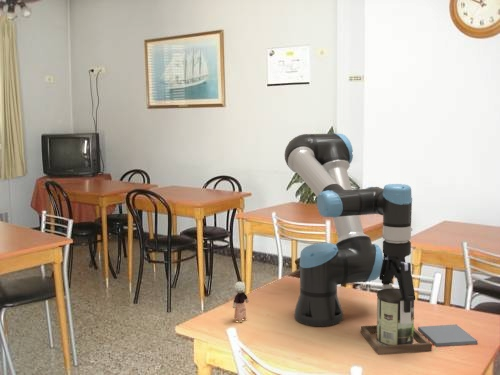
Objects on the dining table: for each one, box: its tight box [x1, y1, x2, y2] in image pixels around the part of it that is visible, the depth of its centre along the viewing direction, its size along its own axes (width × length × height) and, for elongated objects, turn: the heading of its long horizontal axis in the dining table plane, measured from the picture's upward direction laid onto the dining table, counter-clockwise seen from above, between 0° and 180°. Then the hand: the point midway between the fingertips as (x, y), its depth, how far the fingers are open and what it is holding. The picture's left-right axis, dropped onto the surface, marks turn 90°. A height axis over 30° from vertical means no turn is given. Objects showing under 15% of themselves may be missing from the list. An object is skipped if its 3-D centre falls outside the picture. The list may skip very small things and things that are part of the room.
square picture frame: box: [360, 324, 433, 355], centre depth 153 cm, size 15×15×2 cm
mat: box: [417, 324, 478, 348], centre depth 156 cm, size 12×12×1 cm
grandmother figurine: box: [232, 281, 249, 323], centre depth 170 cm, size 8×4×13 cm, turn 156°
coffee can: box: [375, 287, 415, 346], centre depth 152 cm, size 10×10×14 cm
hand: (395, 314), depth 152 cm, fingers open, 13 cm apart
